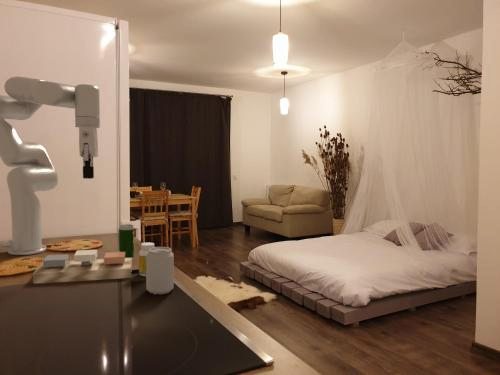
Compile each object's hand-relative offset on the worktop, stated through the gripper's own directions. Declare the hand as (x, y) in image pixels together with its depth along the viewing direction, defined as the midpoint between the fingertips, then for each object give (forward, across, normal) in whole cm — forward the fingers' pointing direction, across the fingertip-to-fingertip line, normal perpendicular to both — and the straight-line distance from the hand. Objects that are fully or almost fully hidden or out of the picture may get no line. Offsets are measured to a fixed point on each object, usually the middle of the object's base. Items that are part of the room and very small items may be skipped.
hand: (88, 178), depth 133 cm
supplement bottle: (+29, -16, -19) cm, 38 cm away
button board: (+29, -13, 0) cm, 32 cm away
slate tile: (+27, -13, +8) cm, 31 cm away
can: (+29, -32, -22) cm, 49 cm away
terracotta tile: (+27, -13, -9) cm, 31 cm away
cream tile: (+26, -13, -1) cm, 29 cm away
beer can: (+29, +3, -12) cm, 32 cm away
